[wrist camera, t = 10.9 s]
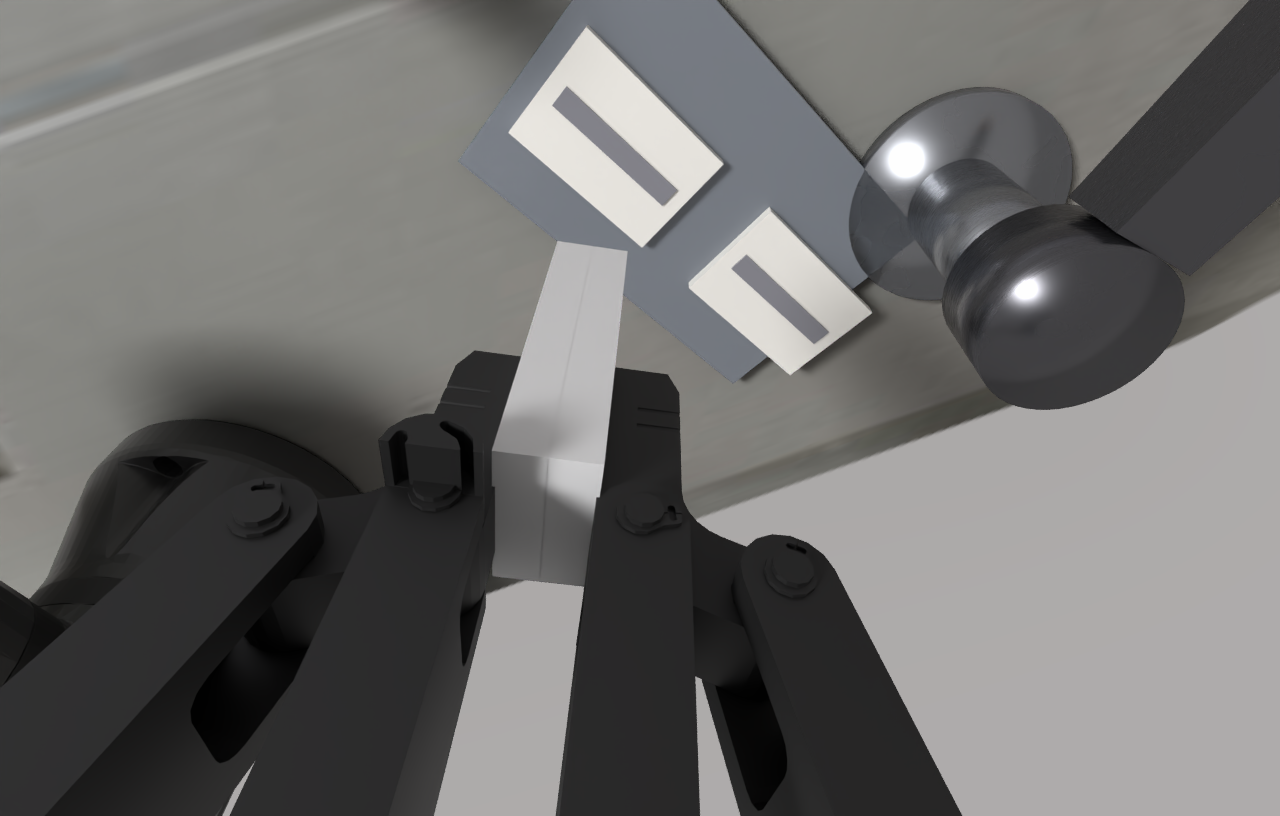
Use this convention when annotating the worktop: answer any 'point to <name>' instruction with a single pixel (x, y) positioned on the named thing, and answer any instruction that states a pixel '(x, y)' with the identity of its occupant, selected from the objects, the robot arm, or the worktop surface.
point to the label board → (688, 177)
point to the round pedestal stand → (956, 181)
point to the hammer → (1126, 233)
